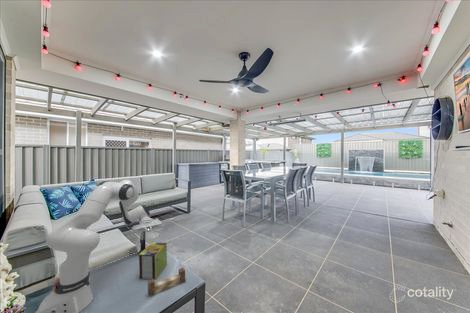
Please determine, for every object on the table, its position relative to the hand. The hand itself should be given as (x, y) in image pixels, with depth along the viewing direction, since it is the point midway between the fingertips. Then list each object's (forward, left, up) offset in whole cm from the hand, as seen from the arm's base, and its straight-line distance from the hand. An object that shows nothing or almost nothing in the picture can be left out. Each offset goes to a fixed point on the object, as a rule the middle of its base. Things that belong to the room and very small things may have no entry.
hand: (149, 230), depth 131 cm
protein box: (0, -18, -20) cm, 27 cm away
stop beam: (+4, -37, -20) cm, 42 cm away
